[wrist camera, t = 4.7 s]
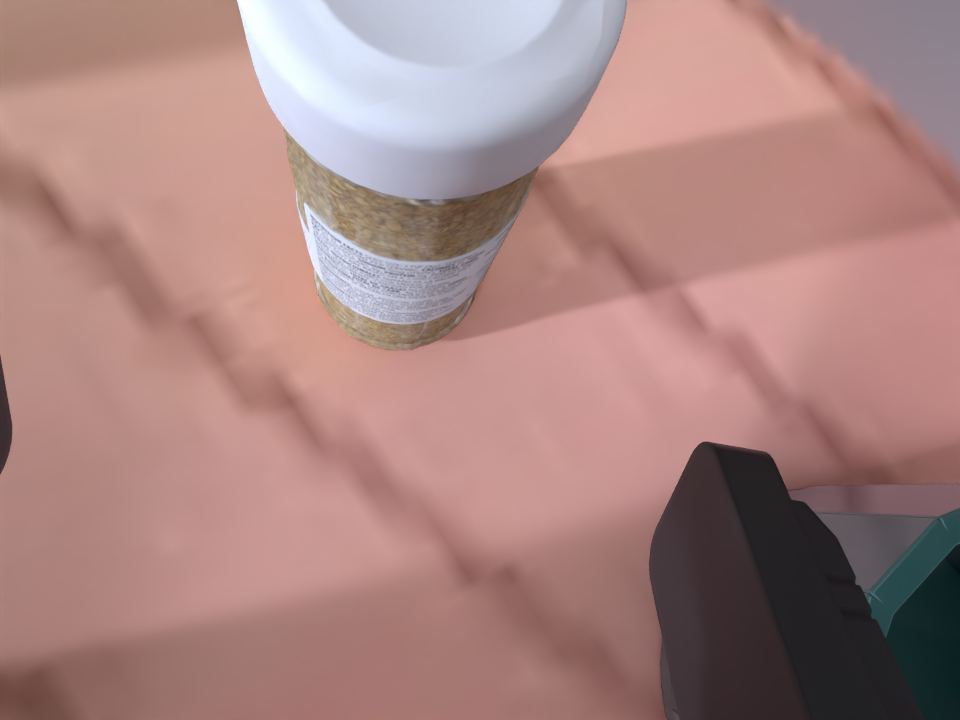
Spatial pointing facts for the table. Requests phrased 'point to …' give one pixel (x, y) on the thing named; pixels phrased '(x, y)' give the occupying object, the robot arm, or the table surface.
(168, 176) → the table surface
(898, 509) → the cup
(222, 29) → the table surface
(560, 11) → the sprinkles bottle
